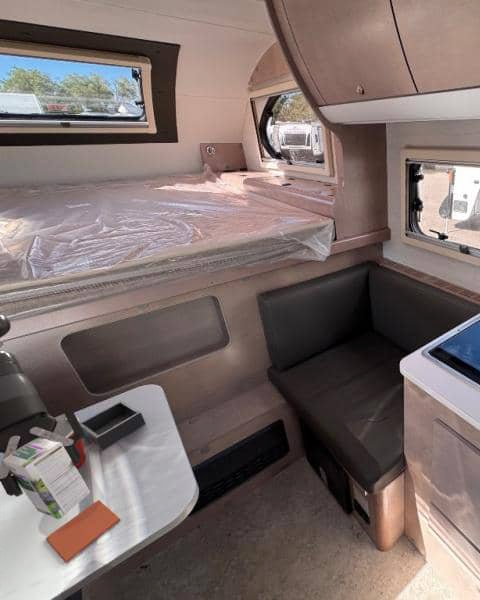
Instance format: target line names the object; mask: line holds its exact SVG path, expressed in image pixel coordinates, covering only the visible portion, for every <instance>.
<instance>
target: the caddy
mask: <svg viewBox="0 0 480 600" xmlns="http://www.w3.org/2000/svg"><path fill="white" fill-rule="evenodd" d="M125 415H126V416H128V418H125V419H124V420H122V421H121V422H119V423H118V424H116V425H114V426H113V427H110V428H109V429H107V430H106V431H104V432H102V433H101V434H98V433H96V432H97V431H98V430H100V429H102V428H104V427H105V426H107V425H109V424H110V423H112V422H114V421H115V420H117V419H119V418H121V417H123V416H125ZM79 423H80V425H81V427H82V429H83V431H84V433H85V437H84V438H86V439H88V441H90V442H91V443H93V445H95V446H96V447H98V448H99V449H100V450H102V451H105V450H107V449H109V447H111V446H113V445H114V444H117V443H118V442H120V441H121V440H123V439H125V438H126V437H127V436H129V435H131V434H132V433H134V432H135V431H137V430H138V429H140V428H142V427H144V426H146V421H145V419H144V416H143V414H142V412H141V411H140V410H138V409H137V408H135V407H133V406H131V405H130V404H128V403H127V402H125V401H123V400H120V401H118V402H115V403H114V404H112V405H110V406H107V408H105V409H103V410H101V411H99V412H97V413H95V414H93V415H92V416H90V417H88V418H86V419H84V420H83V421H80V422H79Z"/></svg>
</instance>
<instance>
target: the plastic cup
mask: <svg viewBox="0 0 480 600" xmlns="http://www.w3.org/2000/svg"><path fill="white" fill-rule="evenodd" d="M76 417H77V419H78V421H79V423H81V421H80V419H79V417H78V416H77V415H76ZM54 433H55V434H58V435H61V436H63V437H66V438H69V439H70V438H71V437H72V436H74V435H75V433H74V431H73V429H72V427H71V426H70V424H63V423H62V422H58V423H57V425H56V428H55V430H54ZM76 446H77V448H78V450H79V452H80V454H81V456H82V460H80V461H79V463H80V464H79V465H77V466H75V467H76V469H77V470H78V471H79V469H80V468H82V467H83V465H84V464H85V463H86V459H87V455H86V452H85V446H84V441H83V438H82V439H81V440H79V441H78V442H77V444H76ZM63 447H64V448H65V450H66V447H65V446H63ZM66 452H67V451H66Z"/></svg>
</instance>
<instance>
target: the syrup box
mask: <svg viewBox="0 0 480 600" xmlns="http://www.w3.org/2000/svg"><path fill="white" fill-rule="evenodd" d="M2 460H3V462H4V464H5V465H6V466H7V468H8V469H10V472H11V473H12V475H13V476H14V478H15V479H16V480H17V482H18V484H19V486H20V488H21V490H22V492H23V493H24V494H25V495H26V496H27V498H28V499H29V501H30V502H31V503H32V505H33V506H34V507H35V509H36V510H37V512H38V513H40V514H43V515H45V516H48V517H50V518H53V519H56V520H60V519H62V518H63V517H64V516H66V514H68V513H69V512H70V511H71V510H73V508H74V507H76V505H78V504H79V503H80V502H81V501H82V500H84V499H85V498H86V497H87V496H88V495H89V494H90V493H91V491H90V489H89V487H88V485H87V483H86V482H85V480H84V478H83V477H82V475H81V473H80V472H79V469H78V470H77V469H76V467H75V465H74V464H73V462H72V460H71V458H70V457H69V455H68V453H67V452H66V450H65V448H64V447H63V445H62V443H61V442H57V441H54V440H51V439H48V438H47V439H45V438H42V437H40V438H37V439H35V440H33V441H31V442H29V443H27V444H26V445H24V446H22V447H21V448H19V449H18V450H16V451H15V452H13V453H12V454H10V455H9V456H8V457H6V458H5V459H3V458H2Z"/></svg>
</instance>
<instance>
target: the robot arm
mask: <svg viewBox="0 0 480 600" xmlns="http://www.w3.org/2000/svg"><path fill="white" fill-rule="evenodd" d="M11 326H12V325H11V322H10V320H9V318H8V317H7V316H6V315H5V314H4V313H3V312H1V311H0V339H1V338H3V337H4V336H6V335H7V334H8V333H9V332H10V330H11ZM76 416H77V415H76V413H75V412H74V410H73V409H68V410H67V411H65V413H63V414H60V415H57V416H55V417H53V416H51V414H50V413H49V411H48V410H47V408H46V406H45V404H44V402H43V401H42V399H41V397H40V395H39V392H38V390H37V389H36V388H35V386H34V385H33V382H31V380H30V379H29V378H28V376H27V375H26V374H25V371H24V370H23V368H22V367H21V364H20V363H19V361H18V359H17V357H16V356H15V355H14V354H13V353H12V352H9V351H6V350H0V453H1V454H3V457H2V459H1V464H0V483H1V486H2V488H3V489H4V491H5V493H6V495H8V496H10V497H12V496H15V497H20V496H22V495H23V494H24V491H23V489H22V488H21V487H20V485H19V484H18V482H17V480H16V479H15V478H14V476H13V475H12V473H11V472H10V469H8V468H7V466H6V465H5V464H4V462H3V459H5V458H6V457H8V456H9V455H10V454H12V453H13V452H15V451H16V450H18V449H19V448H21V447H22V446H24V445H26V444H27V443H29V442H31V441H33V440H35V439H37V438H40V437H42V438H45V439H47V438H48V439H51V440H54V441H57V442H61V443H62V445H63V446H65V447H66V451H67V453H68V455H69V457H70V458H71V460H72V462H73V464H74V465H75V466H77V465H79V464H80V463H79V461H80V460H82V456H81V454H80V452H79V450H78V448H77V446H76V444H77V442H78V441H79V440H81V439H82V440H83V439H85V438H86V437H85V433H84V431H83V429H82V427H81V425H80V423H81V422H79V421H80V420H79V421H78V419H79V418H78V419H77V417H78V416H77V417H76ZM58 422H62V423H63V424H70V426H71V427H72V429H73V431H74V433H75V435H74V436H72V437H71V438H70V439H69V438H66V437H63V436H61V435H58V434H55V433H54V430H55V428H56V425H57V423H58Z"/></svg>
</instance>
